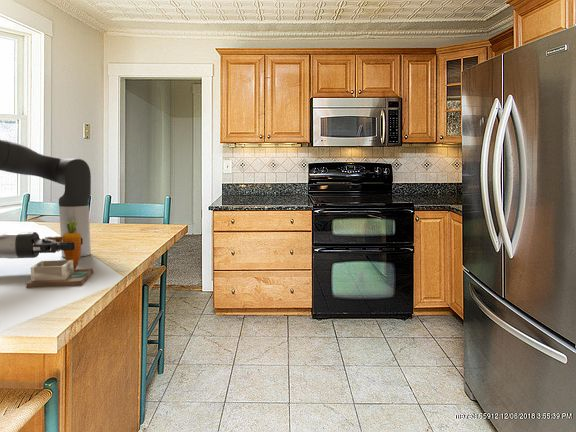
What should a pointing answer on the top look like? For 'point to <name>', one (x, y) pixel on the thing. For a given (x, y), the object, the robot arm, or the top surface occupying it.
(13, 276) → the top surface
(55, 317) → the top surface
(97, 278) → the top surface
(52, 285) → the socket board
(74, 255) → the carrot
